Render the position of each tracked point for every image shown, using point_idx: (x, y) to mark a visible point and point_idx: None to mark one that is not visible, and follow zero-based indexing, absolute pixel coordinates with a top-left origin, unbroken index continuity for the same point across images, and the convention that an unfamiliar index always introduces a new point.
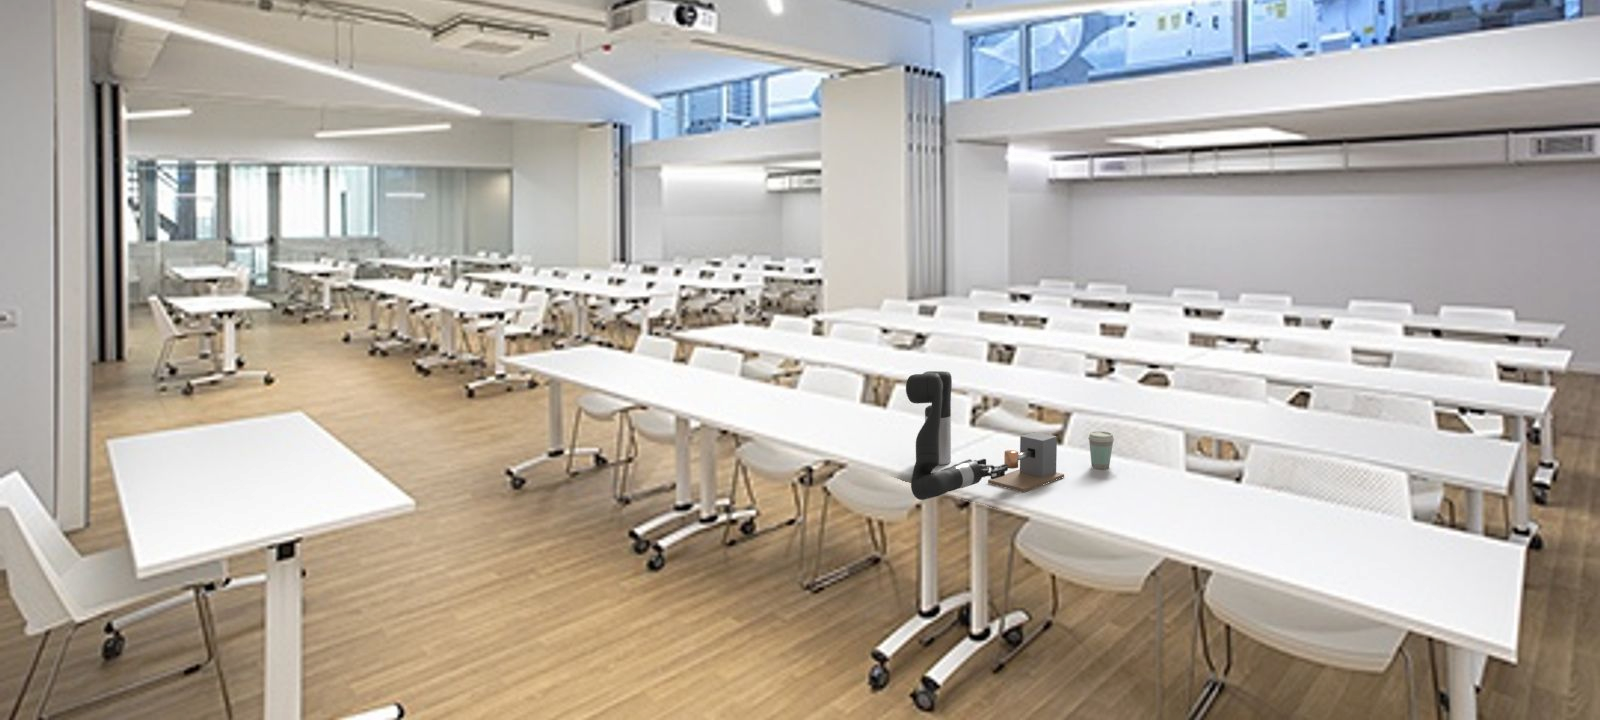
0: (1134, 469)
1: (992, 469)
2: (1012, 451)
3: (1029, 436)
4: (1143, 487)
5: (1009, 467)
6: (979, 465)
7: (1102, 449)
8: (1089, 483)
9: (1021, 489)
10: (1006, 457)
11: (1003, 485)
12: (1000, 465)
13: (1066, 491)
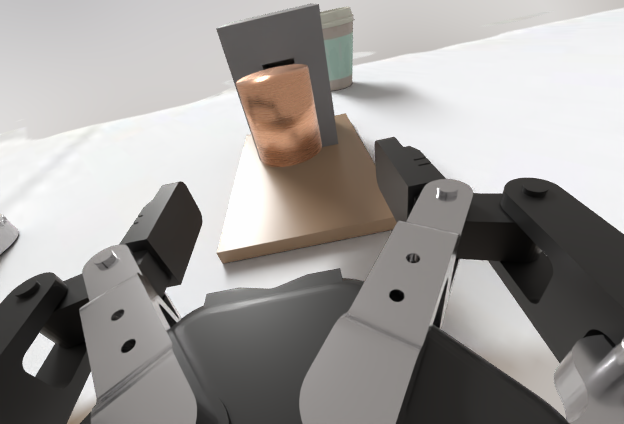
0: (378, 69)
1: (448, 284)
2: (271, 72)
3: (246, 20)
4: (484, 72)
5: (303, 157)
6: (237, 349)
7: (347, 41)
8: (413, 107)
9: (394, 221)
10: (272, 112)
11: (300, 242)
12: (404, 173)
13: (455, 145)
